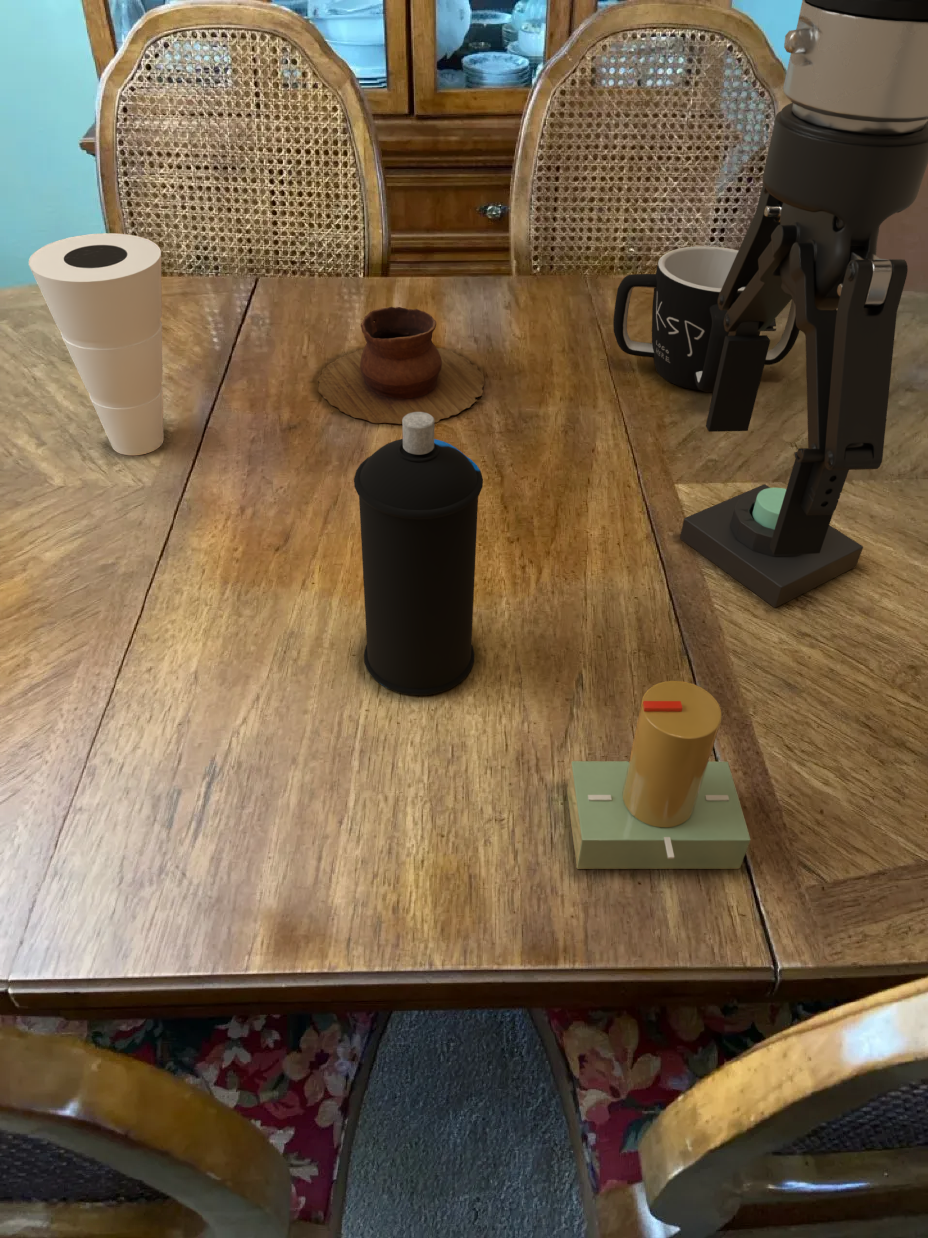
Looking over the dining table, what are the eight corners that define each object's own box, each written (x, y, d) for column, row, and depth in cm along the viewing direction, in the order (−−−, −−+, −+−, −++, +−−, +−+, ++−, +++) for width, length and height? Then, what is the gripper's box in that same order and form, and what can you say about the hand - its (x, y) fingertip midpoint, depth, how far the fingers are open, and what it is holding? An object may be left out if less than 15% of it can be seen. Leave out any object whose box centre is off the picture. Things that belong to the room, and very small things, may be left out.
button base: (856, 567, 81) (870, 528, 79) (775, 608, 77) (787, 569, 74) (759, 503, 88) (769, 466, 85) (679, 538, 84) (687, 500, 81)
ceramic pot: (303, 420, 97) (296, 355, 92) (332, 341, 110) (328, 281, 106) (481, 430, 96) (484, 365, 92) (488, 350, 110) (491, 289, 105)
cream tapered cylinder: (66, 431, 94) (14, 246, 82) (172, 404, 99) (137, 225, 87) (99, 484, 87) (48, 291, 76) (210, 452, 92) (179, 265, 80)
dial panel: (714, 775, 64) (724, 743, 62) (745, 888, 58) (757, 857, 55) (564, 774, 64) (569, 743, 62) (578, 888, 57) (584, 857, 55)
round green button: (811, 522, 80) (817, 505, 79) (778, 538, 78) (783, 520, 77) (775, 499, 82) (780, 482, 81) (742, 513, 80) (746, 496, 79)
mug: (593, 360, 108) (606, 254, 100) (697, 329, 115) (717, 227, 107) (693, 424, 98) (717, 312, 90) (801, 386, 105) (832, 278, 97)
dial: (687, 770, 60) (713, 676, 55) (701, 828, 57) (731, 734, 52) (617, 770, 60) (636, 676, 55) (627, 828, 57) (649, 734, 51)
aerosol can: (435, 713, 67) (438, 470, 54) (341, 668, 71) (322, 428, 57) (494, 646, 73) (510, 410, 60) (404, 607, 76) (400, 374, 63)
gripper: (711, 52, 55) (653, 389, 69) (890, 196, 37) (761, 617, 51) (837, 54, 56) (754, 387, 70) (1077, 197, 37) (898, 612, 51)
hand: (757, 484), depth 60 cm, fingers open, 13 cm apart
